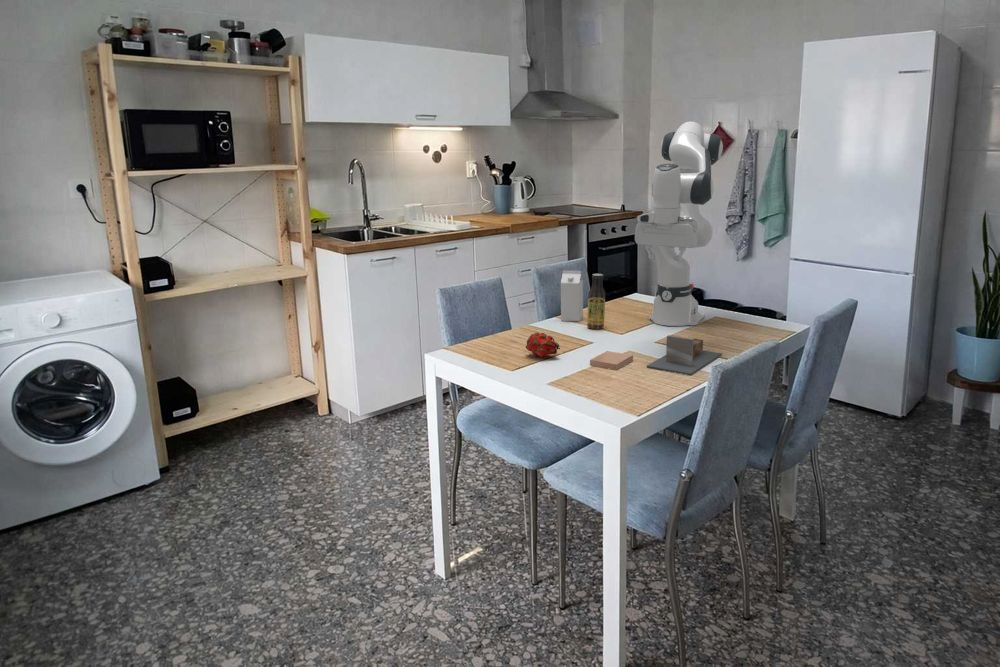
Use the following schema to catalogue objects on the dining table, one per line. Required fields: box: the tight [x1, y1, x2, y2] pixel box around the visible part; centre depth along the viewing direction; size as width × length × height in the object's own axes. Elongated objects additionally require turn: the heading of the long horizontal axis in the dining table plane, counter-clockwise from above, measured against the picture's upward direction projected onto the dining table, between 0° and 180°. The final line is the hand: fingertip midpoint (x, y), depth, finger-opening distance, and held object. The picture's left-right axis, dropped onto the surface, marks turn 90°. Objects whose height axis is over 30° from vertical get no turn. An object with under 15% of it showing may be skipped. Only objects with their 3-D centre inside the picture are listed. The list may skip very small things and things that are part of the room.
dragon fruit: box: [525, 331, 561, 359], centre depth 225 cm, size 8×8×12 cm
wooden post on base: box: [665, 334, 704, 366], centre depth 217 cm, size 15×8×8 cm, turn 142°
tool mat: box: [646, 349, 723, 376], centre depth 216 cm, size 24×14×1 cm, turn 142°
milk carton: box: [560, 270, 584, 322], centre depth 270 cm, size 7×7×19 cm
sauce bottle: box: [586, 273, 606, 330], centre depth 256 cm, size 6×6×20 cm
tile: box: [589, 350, 634, 371], centre depth 217 cm, size 2×9×11 cm
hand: (664, 259), depth 227 cm, fingers open, 8 cm apart
